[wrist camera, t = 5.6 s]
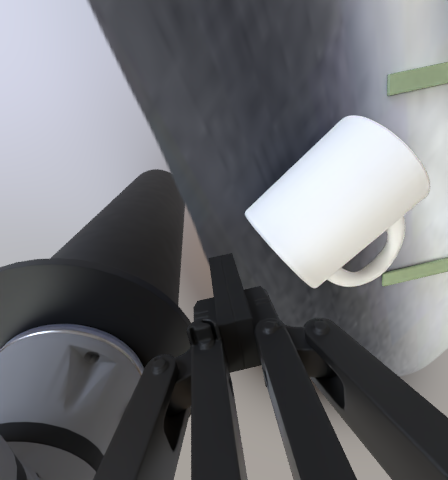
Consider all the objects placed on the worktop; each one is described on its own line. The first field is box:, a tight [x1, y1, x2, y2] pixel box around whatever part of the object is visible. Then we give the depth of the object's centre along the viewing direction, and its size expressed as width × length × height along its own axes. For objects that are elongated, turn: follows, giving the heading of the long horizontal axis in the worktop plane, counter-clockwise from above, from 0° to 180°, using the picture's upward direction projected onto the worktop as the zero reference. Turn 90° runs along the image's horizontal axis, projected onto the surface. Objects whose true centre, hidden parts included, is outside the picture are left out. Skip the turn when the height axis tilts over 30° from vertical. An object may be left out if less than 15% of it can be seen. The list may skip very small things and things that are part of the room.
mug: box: [245, 115, 430, 288], centre depth 22 cm, size 12×10×8 cm
